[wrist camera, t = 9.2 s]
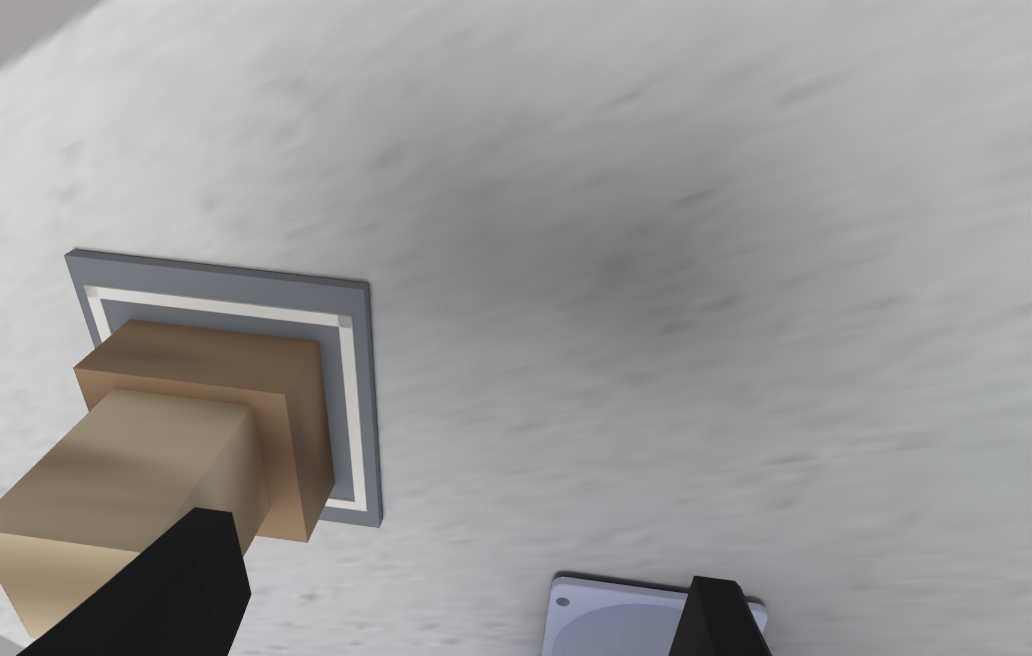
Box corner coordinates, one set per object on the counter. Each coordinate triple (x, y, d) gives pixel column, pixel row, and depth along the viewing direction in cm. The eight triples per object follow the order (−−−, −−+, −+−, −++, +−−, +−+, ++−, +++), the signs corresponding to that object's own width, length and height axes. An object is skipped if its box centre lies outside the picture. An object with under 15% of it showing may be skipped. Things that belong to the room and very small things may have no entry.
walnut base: (335, 483, 23) (307, 542, 21) (171, 461, 24) (127, 517, 22) (319, 341, 20) (284, 394, 18) (129, 319, 21) (73, 367, 18)
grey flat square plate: (382, 519, 25) (378, 530, 24) (149, 487, 25) (142, 497, 25) (368, 283, 19) (362, 291, 19) (73, 249, 20) (61, 256, 20)
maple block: (271, 507, 21) (185, 661, 16) (146, 490, 21) (30, 637, 17) (252, 406, 18) (147, 553, 14) (113, 388, 19) (-30, 528, 14)
